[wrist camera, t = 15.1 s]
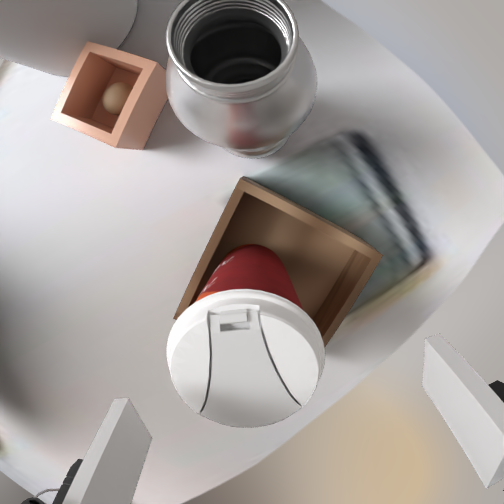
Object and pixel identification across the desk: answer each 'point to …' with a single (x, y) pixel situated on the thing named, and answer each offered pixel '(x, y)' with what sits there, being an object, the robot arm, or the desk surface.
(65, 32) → the cylinder vase
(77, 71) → the planter
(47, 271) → the desk surface
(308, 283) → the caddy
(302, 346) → the coffee cup
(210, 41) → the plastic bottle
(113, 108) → the cork ball
